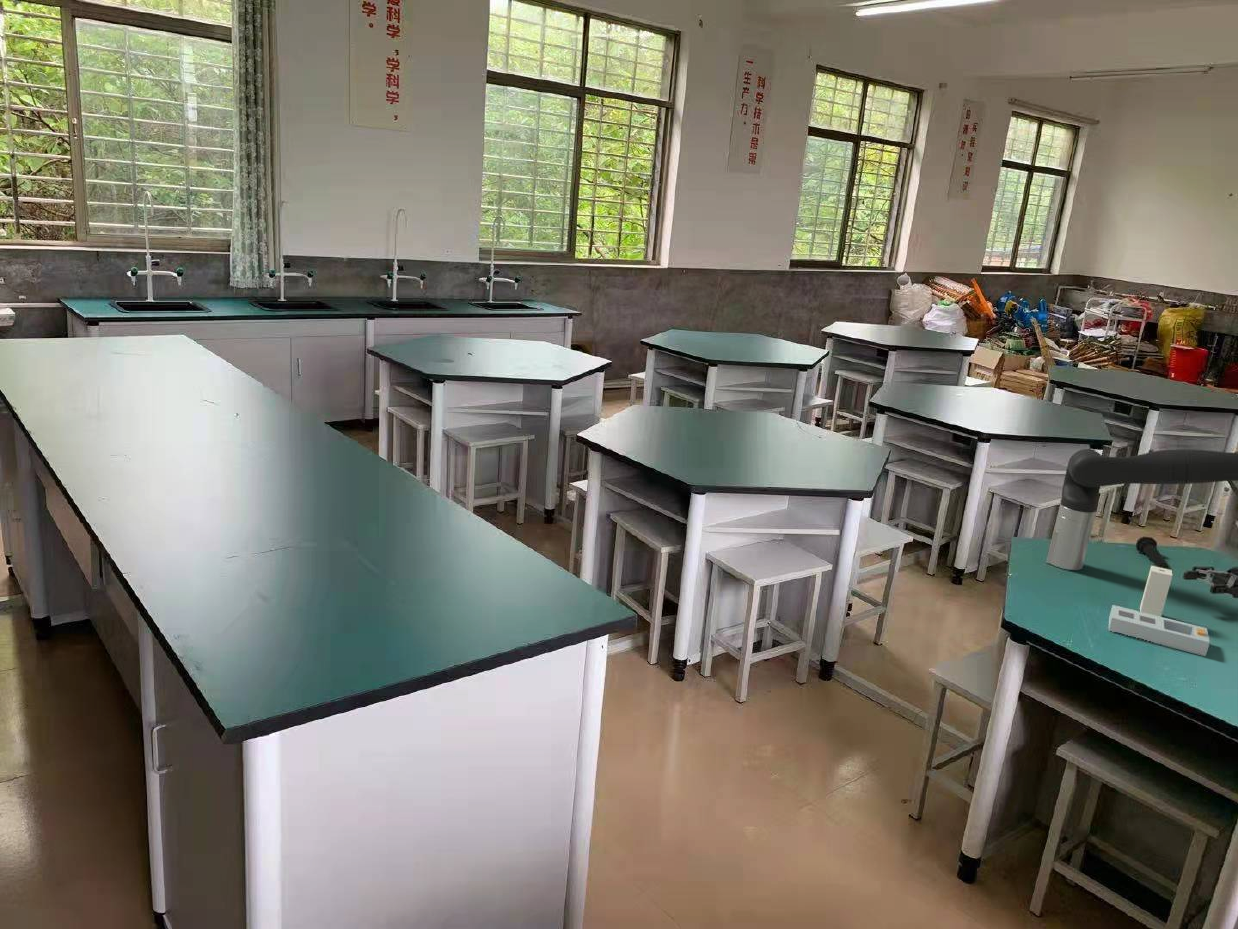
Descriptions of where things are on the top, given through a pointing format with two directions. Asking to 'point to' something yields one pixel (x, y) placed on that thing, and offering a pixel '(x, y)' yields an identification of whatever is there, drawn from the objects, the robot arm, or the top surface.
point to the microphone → (1151, 551)
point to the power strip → (1159, 630)
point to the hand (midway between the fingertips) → (1197, 582)
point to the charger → (1156, 591)
